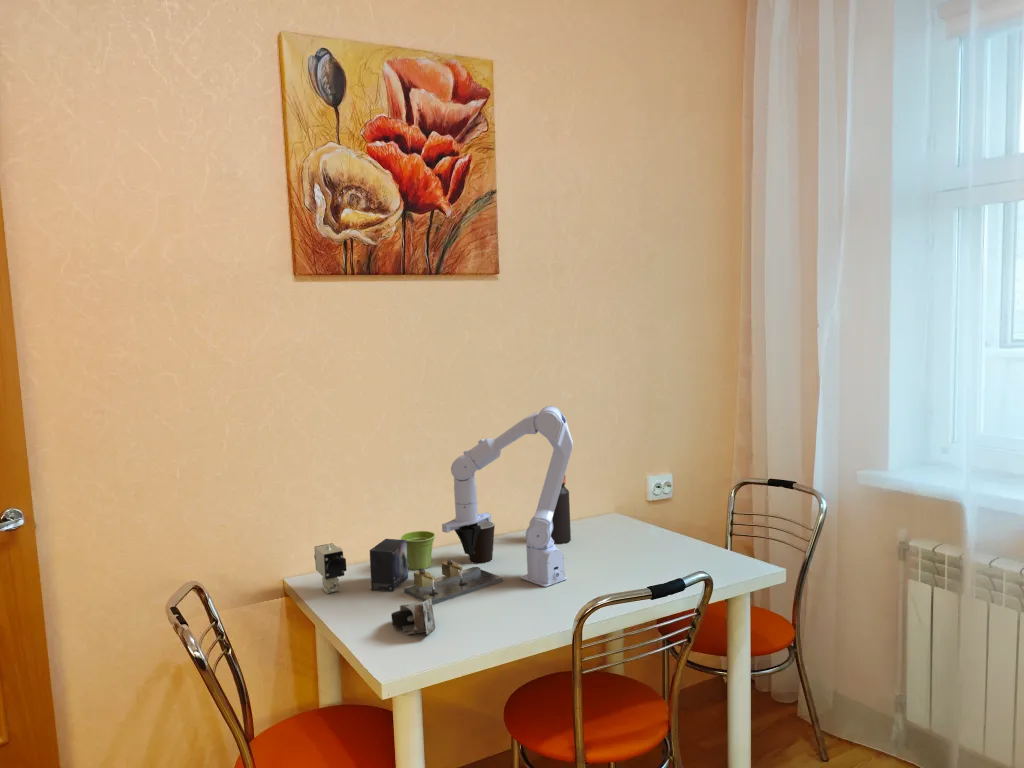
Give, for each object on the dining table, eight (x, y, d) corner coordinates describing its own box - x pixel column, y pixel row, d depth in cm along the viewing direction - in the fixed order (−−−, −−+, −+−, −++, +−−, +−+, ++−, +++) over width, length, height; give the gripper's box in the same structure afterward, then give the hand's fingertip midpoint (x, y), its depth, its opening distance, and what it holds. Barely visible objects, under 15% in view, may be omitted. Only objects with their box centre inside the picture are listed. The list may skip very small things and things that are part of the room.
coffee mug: (495, 564, 203) (493, 528, 202) (464, 565, 203) (462, 529, 203) (497, 551, 215) (495, 517, 214) (467, 552, 215) (466, 518, 214)
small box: (394, 592, 185) (392, 551, 184) (370, 591, 187) (367, 550, 186) (409, 577, 195) (407, 538, 195) (386, 576, 197) (384, 538, 196)
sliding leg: (466, 581, 186) (465, 563, 185) (458, 584, 184) (457, 565, 184) (450, 575, 191) (449, 557, 190) (442, 578, 189) (441, 559, 189)
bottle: (574, 539, 223) (572, 473, 222) (564, 545, 217) (561, 478, 216) (555, 536, 227) (552, 472, 225) (544, 542, 221) (541, 476, 219)
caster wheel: (400, 630, 168) (443, 624, 166) (384, 641, 157) (429, 634, 155) (396, 600, 169) (438, 594, 167) (379, 608, 158) (424, 602, 156)
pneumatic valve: (328, 599, 182) (325, 552, 181) (315, 586, 192) (312, 540, 191) (350, 594, 184) (347, 547, 183) (336, 581, 195) (333, 537, 194)
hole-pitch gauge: (502, 581, 190) (501, 558, 189) (431, 605, 175) (430, 580, 175) (474, 570, 199) (472, 548, 198) (404, 592, 184) (402, 569, 184)
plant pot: (443, 563, 206) (442, 532, 205) (423, 574, 198) (421, 542, 197) (416, 559, 210) (415, 529, 210) (395, 569, 202) (393, 538, 202)
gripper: (478, 494, 199) (481, 544, 200) (433, 505, 189) (437, 557, 190) (495, 498, 193) (498, 549, 194) (450, 509, 184) (453, 562, 185)
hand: (469, 553), depth 192 cm, fingers closed
